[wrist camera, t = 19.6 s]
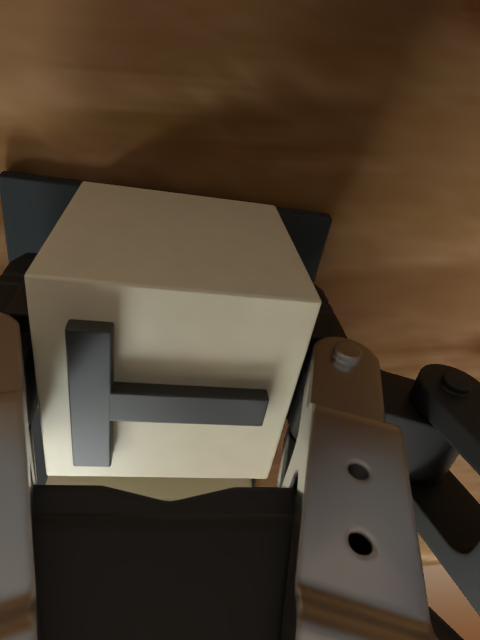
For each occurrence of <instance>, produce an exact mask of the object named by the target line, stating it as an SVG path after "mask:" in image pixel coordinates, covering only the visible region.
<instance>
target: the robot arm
mask: <svg viewBox="0 0 480 640" xmlns="http://www.w3.org/2000/svg"><path fill="white" fill-rule="evenodd" d="M37 254H38V253H29V252H27V253H25V254H23V255H22V256H20V257H18V258H16V259H14V260H12V261H11V262H10V263H9V265H8V266H7V268H6V269H5V270H4V272H3V275H1V276H0V640H464V639H462V637H460V636H459V635H458V634H457V633H456V632H455V631H454V630H453V629H452V628H451V627H450V626H449V625H448V624H447V623H446V622H445V621H444V620H443V619H442V618H440V617H439V616H438V615H437V614H436V613H435V612H434V611H433V610H432V609H431V608H430V607H429V606H428V601H427V594H426V588H425V581H424V574H423V567H422V560H421V553H420V547H419V540H418V533H419V534H420V536H421V537H422V538H423V540H424V541H425V542H426V544H427V545H428V547H429V548H430V549H431V551H432V552H433V553H434V555H435V556H436V557H437V559H438V560H439V562H440V563H441V564H442V566H443V567H444V568H445V570H446V571H447V572H448V574H449V575H450V576H451V578H452V579H453V581H454V582H455V583H456V585H457V586H458V587H459V589H460V590H461V591H462V593H463V594H464V596H465V597H466V598H467V600H468V601H469V602H470V604H471V605H472V606H473V608H474V609H475V611H476V612H477V613H478V615H479V616H480V504H479V503H478V502H477V501H476V500H475V498H474V497H473V496H472V495H471V494H470V493H469V492H468V491H467V490H466V488H465V487H464V486H463V485H462V484H461V483H460V482H459V481H458V479H457V478H456V477H455V476H454V475H453V474H452V473H451V472H450V471H449V469H450V467H451V465H452V464H453V462H454V461H455V459H456V458H457V456H458V454H460V455H461V456H462V457H463V458H464V459H465V460H466V461H467V462H468V463H469V464H470V465H471V466H472V467H473V469H474V470H475V471H476V472H477V473H478V474H479V475H480V382H478V381H477V380H476V379H475V378H473V377H472V376H470V375H469V374H467V373H465V372H463V371H461V370H459V369H456V368H453V367H450V366H446V365H441V364H430V365H426V366H424V367H423V368H422V369H421V370H420V372H419V374H418V376H417V378H416V380H413V379H409V378H406V377H402V376H399V375H395V374H391V373H388V372H385V371H382V370H380V364H379V361H378V359H377V357H376V356H375V354H374V353H373V352H372V351H371V350H369V349H368V348H367V347H365V346H364V345H362V344H360V343H358V342H356V341H353V340H350V339H347V337H346V335H345V333H344V331H343V329H342V327H341V325H340V323H339V321H338V319H337V317H336V315H335V314H333V310H332V308H331V306H330V304H328V303H329V302H328V300H327V298H326V296H325V294H324V292H323V291H322V290H321V289H320V288H319V287H317V286H316V285H315V284H314V283H313V282H312V283H313V285H314V287H315V289H316V291H317V293H318V295H319V297H320V299H321V302H322V303H321V306H320V310H319V313H318V316H317V319H316V323H315V326H314V329H313V332H312V336H311V339H310V342H309V345H308V349H307V352H306V355H305V358H304V362H303V365H302V368H301V371H300V375H299V378H298V381H297V384H296V388H295V391H294V394H293V397H292V401H291V404H290V407H289V410H288V414H287V417H286V418H287V420H288V424H289V426H288V429H287V432H286V435H285V439H284V444H283V450H282V457H281V463H280V469H279V475H278V481H277V487H232V488H228V489H223V490H219V491H215V492H210V493H206V494H202V495H197V496H193V497H189V498H184V499H180V500H175V501H165V500H160V499H156V498H152V497H147V496H143V495H139V494H135V493H131V492H127V491H123V490H119V489H115V488H111V487H106V486H102V485H37V476H36V464H35V452H34V441H33V430H32V420H33V418H34V415H35V413H36V410H37V407H39V403H38V394H37V385H36V377H35V368H34V359H33V350H32V341H31V332H30V324H29V315H28V306H27V297H26V288H25V279H24V275H25V273H26V272H27V270H28V268H29V267H30V265H31V264H32V262H33V260H34V259H35V257H36V256H37ZM417 532H418V533H417Z"/></svg>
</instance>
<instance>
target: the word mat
mask: <svg viewBox="0 0 480 640" xmlns="http://www.w3.org/2000/svg"><path fill="white" fill-rule="evenodd" d="M82 182H84V181H76V180H69V179H61V178H54V177H46V176H39V175H31V174H24V173H16V172H8V171H3V172H2V173H1V174H0V195H1V203H2V211H3V219H4V227H5V235H6V243H7V251H8V259H9V263H10V262H11V261H12V260H14V259H16V258H18V257H20V256H22V255H23V254H25V253H27V252H29V253H38V252H39V251H40V249H41V248H42V246H43V244H44V243H45V241H46V240H47V238H48V236H49V235H50V233H51V232H52V230H53V228H54V227H55V225H56V224H57V222H58V220H59V219H60V217H61V216H62V214H63V212H64V211H65V209H66V208H67V206H68V204H69V203H70V201H71V200H72V198H73V196H74V195H75V193H76V192H77V190H78V188H79V187H80V185H81V184H82ZM276 209H277V211H278V213H279V215H280V217H281V219H282V221H283V223H284V225H285V228H286V230H287V232H288V234H289V236H290V238H291V240H292V242H293V244H294V246H295V248H296V250H297V252H298V254H299V256H300V258H301V260H302V262H303V264H304V266H305V268H306V270H307V272H308V274H309V276H310V278H311V280H312V282H313V283H314V280H315V276H316V273H317V269H318V266H319V263H320V259H321V256H322V253H323V249H324V246H325V242H326V239H327V236H328V232H329V229H330V226H331V222H332V218H331V217H330V215H329V214H325V213H317V212H310V211H302V210H295V209H287V208H280V207H276ZM32 430H33V441H34V452H35V464H36V476H37V485H46V482H47V478H48V475H47V473H46V465H45V456H44V447H43V438H42V430H41V421H40V412H39V407H37V410H36V413H35V415H34V418H33V420H32ZM254 482H255V479H253V478H251V484H252V487H253V485H254Z"/></svg>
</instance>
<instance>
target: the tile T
mask: <svg viewBox="0 0 480 640" xmlns="http://www.w3.org/2000/svg"><path fill="white" fill-rule="evenodd" d="M24 279H25V288H26V297H27V306H28V315H29V324H30V332H31V341H32V350H33V359H34V368H35V377H36V385H37V394H38V403H39V412H40V421H41V430H42V438H43V447H44V456H45V465H46V473H47V475H49V476H114V477H184V478H253V479H266V478H268V475H269V472H270V469H271V466H272V462H273V459H274V456H275V453H276V449H277V446H278V443H279V440H280V436H281V433H282V430H283V427H284V423H285V420H286V417H287V414H288V410H289V407H290V404H291V401H292V397H293V394H294V391H295V388H296V384H297V381H298V378H299V375H300V371H301V368H302V365H303V362H304V358H305V355H306V352H307V349H308V345H309V342H310V339H311V336H312V332H313V329H314V326H315V323H316V319H317V316H318V313H319V310H320V306H321V303H322V302H321V299H320V297H319V295H318V293H317V291H316V289H315V287H314V285H313V283H312V280H311V278H310V276H309V274H308V272H307V270H306V268H305V266H304V264H303V262H302V260H301V258H300V256H299V254H298V252H297V250H296V248H295V246H294V244H293V242H292V240H291V238H290V236H289V234H288V232H287V230H286V228H285V225H284V223H283V221H282V219H281V217H280V215H279V213H278V211H277V209H276V207H275V206H274V205H267V204H259V203H251V202H243V201H236V200H228V199H220V198H212V197H204V196H196V195H188V194H180V193H173V192H165V191H157V190H149V189H141V188H133V187H125V186H117V185H110V184H102V183H94V182H86V181H84V182H82V184H81V185H80V187H79V188H78V190H77V192H76V193H75V195H74V196H73V198H72V200H71V201H70V203H69V204H68V206H67V208H66V209H65V211H64V212H63V214H62V216H61V217H60V219H59V220H58V222H57V224H56V225H55V227H54V228H53V230H52V232H51V233H50V235H49V236H48V238H47V240H46V241H45V243H44V244H43V246H42V248H41V249H40V251H39V252H38V254H37V256H36V257H35V259H34V260H33V262H32V264H31V265H30V267H29V268H28V270H27V272H26V273H25V275H24Z"/></svg>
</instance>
